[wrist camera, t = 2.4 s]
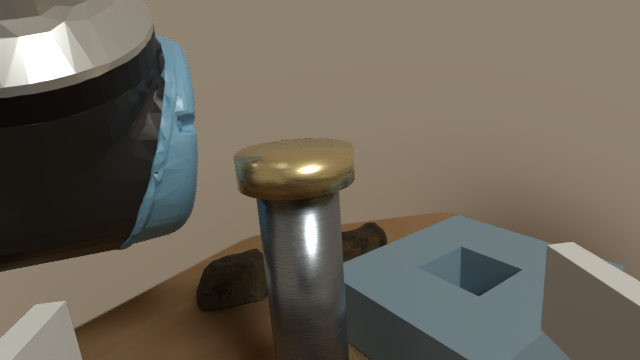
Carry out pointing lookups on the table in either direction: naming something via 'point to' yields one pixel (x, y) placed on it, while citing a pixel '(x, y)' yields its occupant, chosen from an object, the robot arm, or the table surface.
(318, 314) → the pin
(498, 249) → the socket block
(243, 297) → the dark brown wooden club
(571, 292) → the robot arm
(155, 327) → the table surface
